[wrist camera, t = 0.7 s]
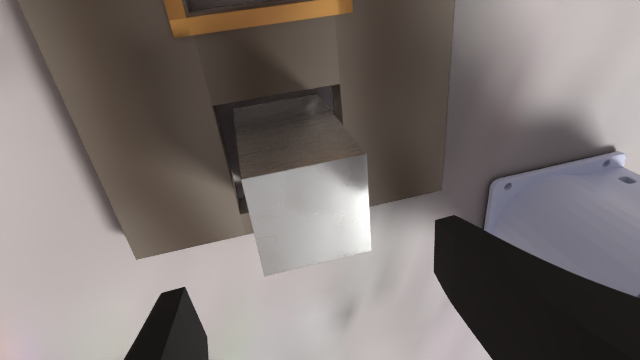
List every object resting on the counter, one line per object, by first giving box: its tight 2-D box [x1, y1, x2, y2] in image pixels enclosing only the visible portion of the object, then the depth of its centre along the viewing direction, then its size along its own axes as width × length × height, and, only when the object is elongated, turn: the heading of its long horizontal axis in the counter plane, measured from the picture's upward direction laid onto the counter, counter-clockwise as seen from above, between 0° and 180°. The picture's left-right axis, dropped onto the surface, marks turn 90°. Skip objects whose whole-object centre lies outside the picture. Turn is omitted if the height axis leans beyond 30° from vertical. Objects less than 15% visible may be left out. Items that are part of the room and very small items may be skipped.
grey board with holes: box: [17, 0, 455, 260], centre depth 16 cm, size 16×17×2 cm
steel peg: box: [233, 94, 371, 276], centre depth 16 cm, size 4×4×7 cm
